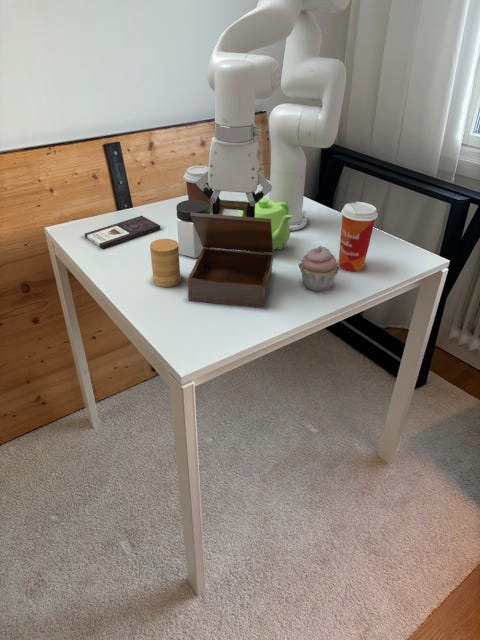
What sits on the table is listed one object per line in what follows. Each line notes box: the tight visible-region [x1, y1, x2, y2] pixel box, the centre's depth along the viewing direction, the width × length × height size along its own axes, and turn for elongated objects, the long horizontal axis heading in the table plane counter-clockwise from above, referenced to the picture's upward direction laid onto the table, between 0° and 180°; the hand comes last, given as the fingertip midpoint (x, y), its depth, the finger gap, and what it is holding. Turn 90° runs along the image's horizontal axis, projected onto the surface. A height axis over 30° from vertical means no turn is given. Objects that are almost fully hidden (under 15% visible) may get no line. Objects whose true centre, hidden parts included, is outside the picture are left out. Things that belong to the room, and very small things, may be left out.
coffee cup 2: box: [338, 201, 379, 272], centre depth 120 cm, size 8×8×15 cm
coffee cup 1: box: [182, 165, 212, 212], centre depth 148 cm, size 9×9×12 cm
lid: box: [190, 199, 274, 254], centre depth 111 cm, size 16×17×5 cm
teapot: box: [236, 197, 293, 253], centre depth 129 cm, size 16×14×13 cm
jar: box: [175, 199, 211, 259], centre depth 126 cm, size 9×8×12 cm
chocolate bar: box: [84, 215, 161, 249], centre depth 137 cm, size 9×1×18 cm
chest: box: [187, 248, 274, 309], centre depth 114 cm, size 15×17×5 cm
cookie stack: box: [149, 238, 181, 288], centre depth 114 cm, size 6×6×9 cm
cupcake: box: [297, 245, 341, 292], centre depth 113 cm, size 9×9×10 cm
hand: (233, 219), depth 107 cm, fingers closed on lid, 6 cm apart
